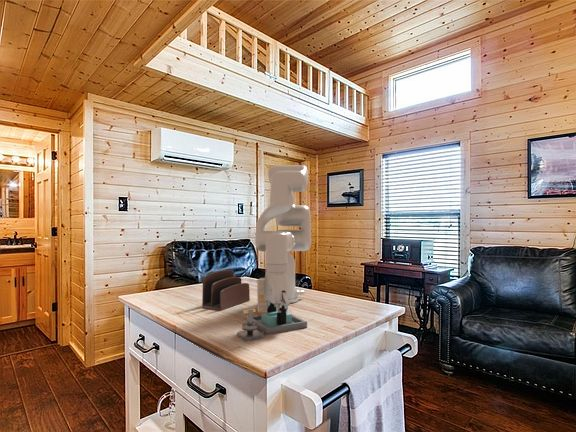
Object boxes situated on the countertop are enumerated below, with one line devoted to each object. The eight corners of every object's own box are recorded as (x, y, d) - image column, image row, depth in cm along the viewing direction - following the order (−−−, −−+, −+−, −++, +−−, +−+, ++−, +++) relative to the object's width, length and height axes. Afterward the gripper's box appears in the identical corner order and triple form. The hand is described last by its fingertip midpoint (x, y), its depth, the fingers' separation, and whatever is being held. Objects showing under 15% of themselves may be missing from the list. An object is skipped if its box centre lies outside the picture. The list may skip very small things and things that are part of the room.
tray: (285, 316, 122) (285, 311, 122) (307, 327, 109) (307, 321, 109) (247, 322, 115) (247, 316, 115) (266, 334, 102) (266, 328, 102)
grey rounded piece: (254, 332, 104) (255, 306, 104) (263, 337, 99) (263, 310, 99) (237, 335, 101) (237, 308, 101) (244, 341, 96) (244, 313, 96)
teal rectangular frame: (268, 327, 107) (268, 317, 107) (261, 322, 112) (261, 313, 112) (295, 322, 112) (295, 313, 112) (286, 318, 117) (286, 310, 117)
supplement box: (281, 312, 128) (281, 278, 128) (277, 315, 123) (277, 280, 123) (261, 310, 130) (262, 277, 131) (256, 313, 126) (256, 279, 126)
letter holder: (201, 308, 134) (201, 273, 135) (232, 298, 152) (232, 267, 152) (220, 311, 130) (221, 275, 130) (250, 301, 147) (250, 269, 147)
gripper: (256, 266, 118) (255, 316, 118) (278, 272, 103) (278, 330, 103) (274, 265, 122) (274, 313, 121) (299, 270, 107) (299, 326, 106)
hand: (276, 320), depth 112 cm, fingers open, 6 cm apart
